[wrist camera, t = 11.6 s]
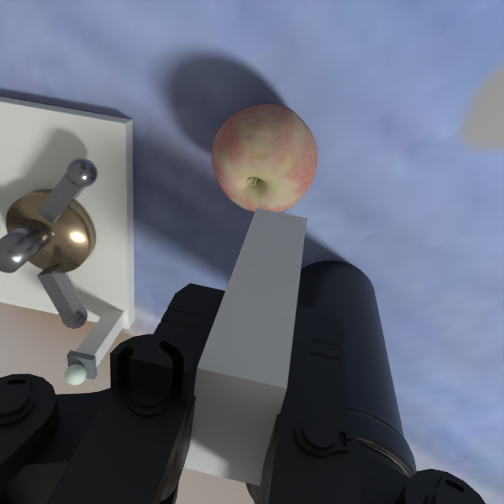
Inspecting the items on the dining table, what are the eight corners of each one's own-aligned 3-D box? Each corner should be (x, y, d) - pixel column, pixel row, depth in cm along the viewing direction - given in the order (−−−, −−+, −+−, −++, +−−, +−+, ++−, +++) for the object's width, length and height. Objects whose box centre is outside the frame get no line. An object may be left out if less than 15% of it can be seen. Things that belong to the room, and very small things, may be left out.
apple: (206, 141, 37) (178, 171, 30) (270, 72, 34) (254, 89, 27) (272, 205, 39) (259, 247, 32) (338, 146, 36) (340, 180, 29)
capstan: (-46, 270, 47) (-97, 305, 41) (-67, 100, 37) (-136, 117, 32) (97, 313, 46) (65, 355, 41) (110, 154, 37) (72, 179, 32)
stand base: (-43, 88, 38) (-165, 116, 29) (132, 119, 37) (65, 158, 28) (-2, 292, 49) (-80, 359, 40) (134, 320, 48) (86, 396, 39)
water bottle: (283, 338, 46) (247, 587, 26) (273, 254, 41) (220, 481, 22) (383, 339, 44) (425, 609, 24) (385, 250, 39) (439, 497, 20)
